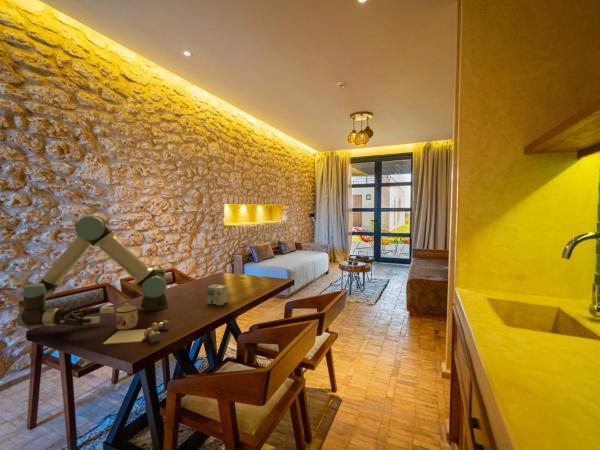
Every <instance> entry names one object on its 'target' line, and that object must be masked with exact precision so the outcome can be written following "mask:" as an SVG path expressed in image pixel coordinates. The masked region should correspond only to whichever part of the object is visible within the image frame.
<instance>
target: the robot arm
mask: <svg viewBox="0 0 600 450" xmlns="http://www.w3.org/2000/svg"><path fill="white" fill-rule="evenodd" d="M74 229H75V233H76V237H75V238H74V240H73V241H72V242H71V244H70V245H69V246H68V247H67V249H66V250H65V251H64V252H63V253H62V254H61V255H60V257H59V258H58V259H57V260H56V261H55V263H54V264H53V265H52V266H51V268H50V269H49V270H48V271H47V272H46V273H45V275H44V276H43V277H42V279H41V280H40V281H39V282H38V283H30V284H27V285H25V286H24V287H23V288H22V289H23V290H22V297H23V301H22V302H23V309H22V310H21V311H20V312H18V313H17V317H16V319H15V322H16V325H17V326H18V327H27V328H28V327H29V328H31V327H45V326H46V327H47V326H49V327H53V326H65V325H67V326H74V327H78V326H79V327H82V326H84V325H83V324H99V323H101V319H100V318H101V317H100V316H91V315H95V314H114V313H115V306H109V307H105V306H104V307H102V305H98V306H93V307H87V308H78V309H77V310H73V311H72V310H71V308H68V307H65V308H46V303H47V302H46V299H48V298H49V297H50V296H52V295H53V294H54V293H55V291H56V289H57V288H58V287H59V285H60V284H61V283H62V281H64V279H65V278H66V277H67V275H68V274H69V273H70V272H71V270H73V268H74V267H75V266H76V264H77V263H78V262H79V261H80V259H81V258H82V257H83V256H84V254H85V253H87V252H88V251H87V250H89V249H90V247H95V248H99V249H100V250H101V251H103V252H104V253H105V254H106V255H107V256H108V257H109V258H111V260H113V262H114V263H116V264H117V265H118V266H119V267H120V268H122V270H124V271H125V272H126V273H127V274H128V275H129V276H130V277H131V278H133V279H134V285H136V287H138V288H139V289H140V290H141V292H142V299H141V301H140V304H139V310H140V311H141V312H157V311H161V310H164V309H167V308H168V307H169V300H168V298H167V295H166V289H167V285H168V284H167V281H166V272H165V269H164V268H154V267H148V266H147V265H146V264H145V263H144V262H143V261H141V260H140V258H138V256H136V255H135V254H134V253H133V252H132V251H131V250H130V249H129V248H128V247H127V246H126V245H125V244H124V243H123V242H121V240H119V239H118V238H117V237H116V236H115V230H113V229H112V228H111V227H110V225H109V223H108V222H107V220H106V219H105V218H103V217H102V216H99V215H85V216H83V217H81V218H80V219H78V220H77V222H76V224H75V228H74Z"/></svg>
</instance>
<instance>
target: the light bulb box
mask: <svg viewBox="0 0 600 450" xmlns="http://www.w3.org/2000/svg"><path fill="white" fill-rule="evenodd" d="M206 288H207V289H206V291H207V293H206V294H207V296H206V297H207V298H206V299H207V301H206V303H208V304H209V305H214V304H216V305H215V306H223V305H225V304H227V303H228V285H224V284H223V285H222V284H211V285H209V286H207V287H206ZM226 302H227V303H226ZM224 303H225V304H224Z"/></svg>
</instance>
